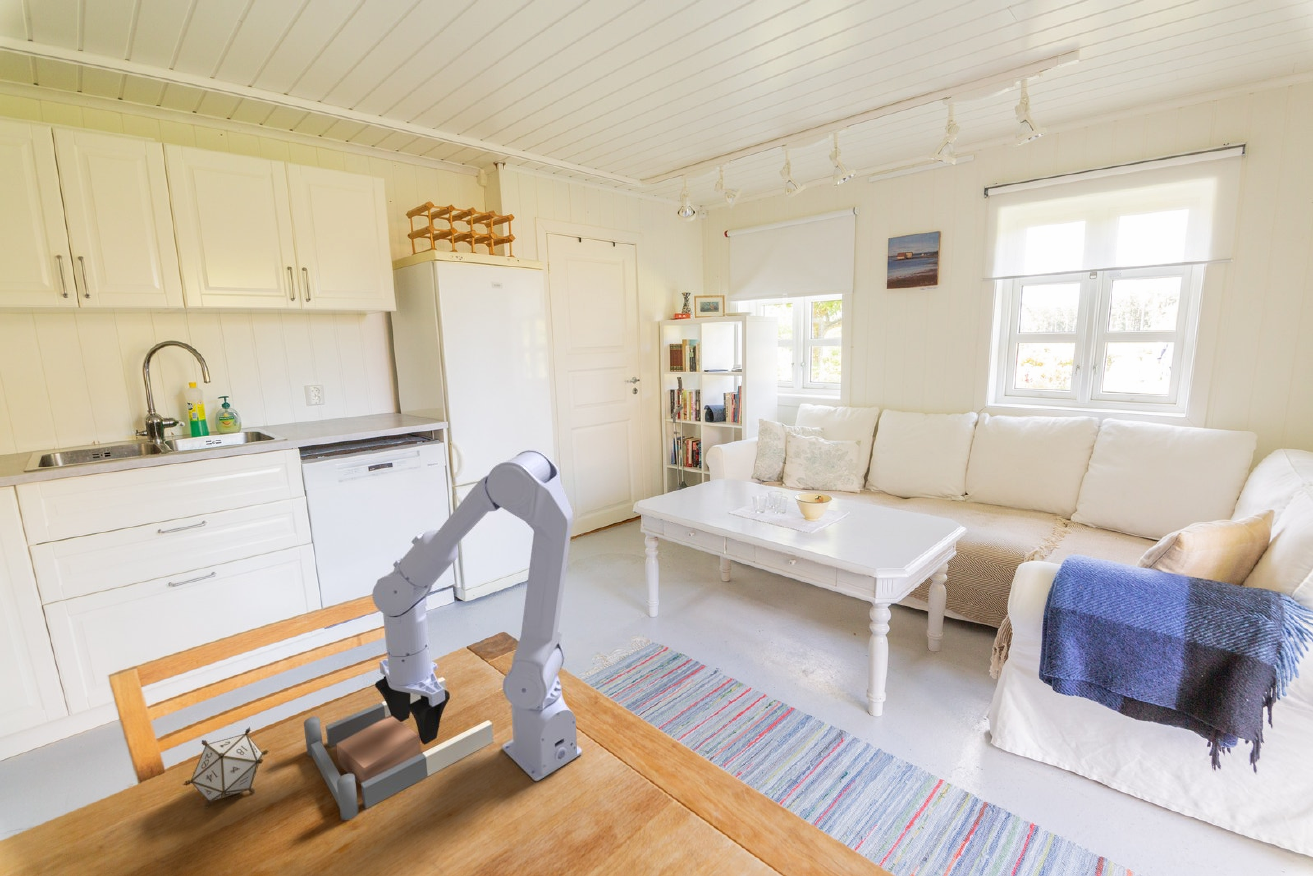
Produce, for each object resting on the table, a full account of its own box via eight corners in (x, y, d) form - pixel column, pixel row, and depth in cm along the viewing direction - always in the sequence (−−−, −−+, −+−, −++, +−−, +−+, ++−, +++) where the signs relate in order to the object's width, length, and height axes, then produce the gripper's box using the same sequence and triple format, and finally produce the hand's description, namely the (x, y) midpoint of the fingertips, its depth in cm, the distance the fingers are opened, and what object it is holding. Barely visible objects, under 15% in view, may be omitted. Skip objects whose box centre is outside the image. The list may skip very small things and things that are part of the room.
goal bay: (428, 778, 79) (426, 745, 78) (343, 823, 72) (339, 787, 71) (382, 718, 92) (379, 690, 91) (305, 751, 85) (302, 721, 84)
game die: (241, 825, 76) (225, 803, 70) (179, 804, 76) (157, 781, 70) (287, 755, 83) (276, 729, 77) (230, 736, 83) (215, 708, 76)
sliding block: (421, 757, 84) (419, 735, 83) (366, 791, 77) (364, 768, 77) (392, 735, 88) (390, 714, 88) (338, 765, 82) (336, 743, 82)
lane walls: (493, 741, 86) (492, 723, 86) (427, 776, 80) (425, 757, 79) (443, 693, 99) (442, 677, 98) (383, 719, 92) (381, 702, 91)
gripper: (460, 650, 83) (466, 734, 86) (407, 622, 92) (414, 699, 94) (415, 672, 78) (423, 762, 80) (363, 640, 87) (371, 722, 89)
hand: (415, 730), depth 87 cm, fingers open, 7 cm apart
